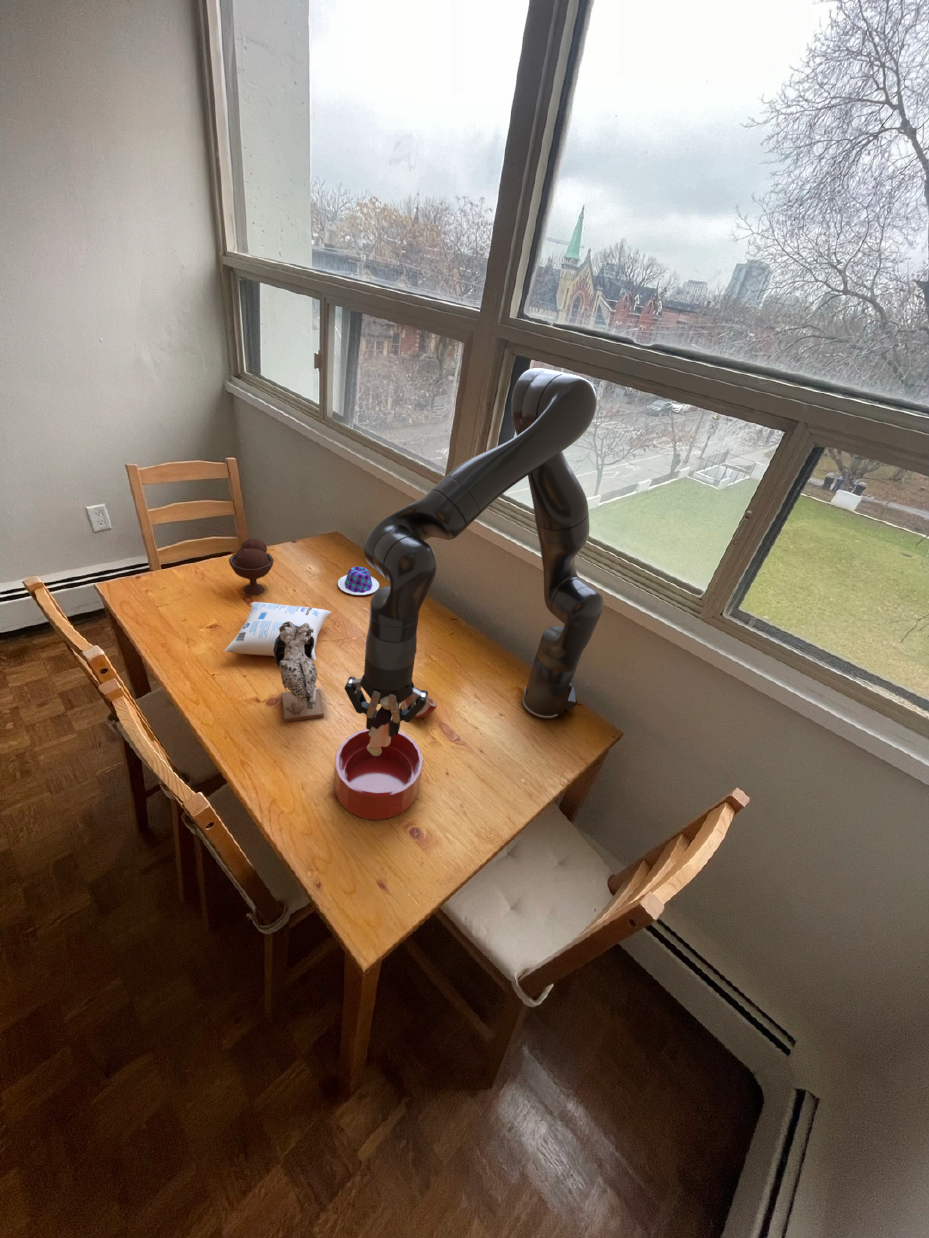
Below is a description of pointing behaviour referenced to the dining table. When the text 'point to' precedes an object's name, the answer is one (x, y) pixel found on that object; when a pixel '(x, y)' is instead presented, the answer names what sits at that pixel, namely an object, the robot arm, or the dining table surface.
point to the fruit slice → (426, 708)
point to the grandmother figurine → (380, 728)
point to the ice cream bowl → (252, 564)
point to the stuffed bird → (297, 672)
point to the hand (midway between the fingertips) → (382, 731)
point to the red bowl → (377, 775)
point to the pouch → (273, 627)
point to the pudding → (358, 582)
